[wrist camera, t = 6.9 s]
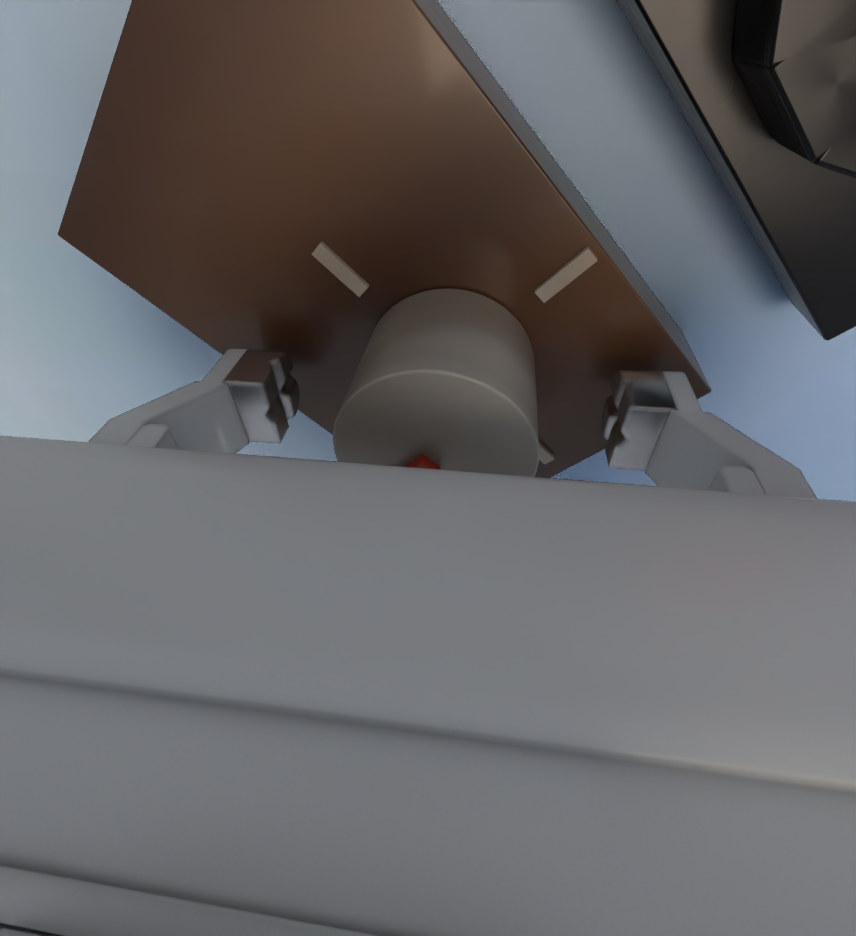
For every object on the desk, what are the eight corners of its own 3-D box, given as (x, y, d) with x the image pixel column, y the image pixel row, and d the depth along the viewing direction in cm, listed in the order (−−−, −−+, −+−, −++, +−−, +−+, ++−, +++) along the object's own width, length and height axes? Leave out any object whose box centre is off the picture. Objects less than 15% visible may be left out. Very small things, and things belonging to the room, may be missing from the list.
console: (683, 333, 14) (714, 395, 12) (465, 468, 19) (458, 530, 17) (289, -199, 8) (208, -268, 6) (127, 197, 14) (51, 237, 11)
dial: (448, 246, 10) (424, 332, 8) (570, 372, 12) (585, 478, 10) (335, 364, 13) (289, 459, 10) (450, 454, 15) (436, 555, 12)
